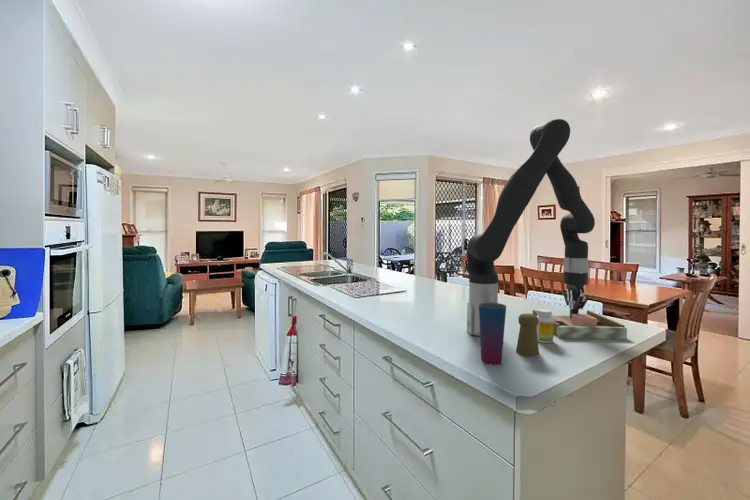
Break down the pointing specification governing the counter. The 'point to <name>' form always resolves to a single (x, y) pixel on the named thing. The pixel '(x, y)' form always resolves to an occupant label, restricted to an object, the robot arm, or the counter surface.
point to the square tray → (588, 328)
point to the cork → (528, 335)
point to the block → (583, 320)
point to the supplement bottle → (545, 326)
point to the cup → (492, 331)
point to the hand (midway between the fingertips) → (573, 319)
